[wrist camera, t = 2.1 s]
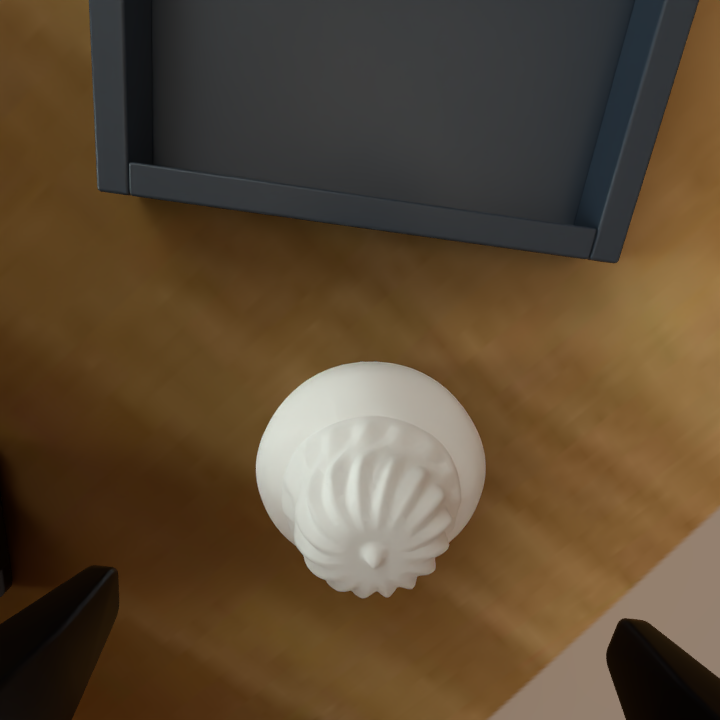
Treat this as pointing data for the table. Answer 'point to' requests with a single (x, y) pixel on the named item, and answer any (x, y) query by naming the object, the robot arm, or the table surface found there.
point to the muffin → (370, 474)
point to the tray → (392, 112)
